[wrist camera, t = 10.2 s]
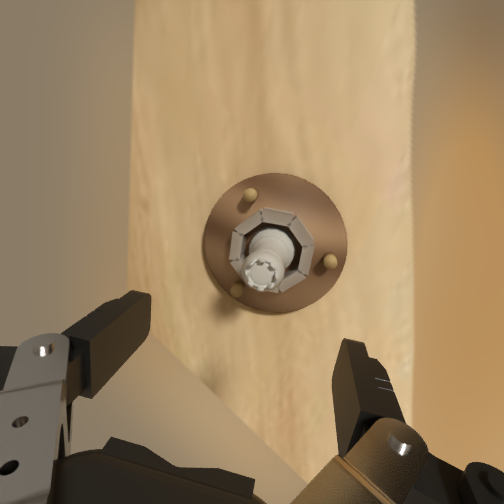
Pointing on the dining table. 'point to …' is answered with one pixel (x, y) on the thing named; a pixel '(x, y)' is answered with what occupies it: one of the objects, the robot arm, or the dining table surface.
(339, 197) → the dining table surface
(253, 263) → the rook chess piece
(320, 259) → the carrier disc
